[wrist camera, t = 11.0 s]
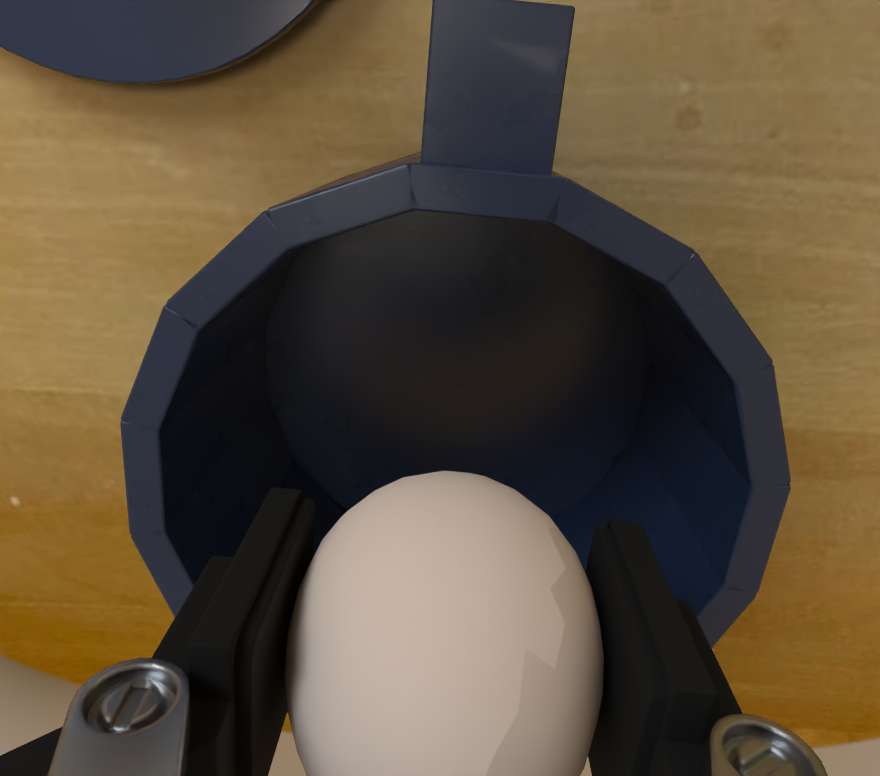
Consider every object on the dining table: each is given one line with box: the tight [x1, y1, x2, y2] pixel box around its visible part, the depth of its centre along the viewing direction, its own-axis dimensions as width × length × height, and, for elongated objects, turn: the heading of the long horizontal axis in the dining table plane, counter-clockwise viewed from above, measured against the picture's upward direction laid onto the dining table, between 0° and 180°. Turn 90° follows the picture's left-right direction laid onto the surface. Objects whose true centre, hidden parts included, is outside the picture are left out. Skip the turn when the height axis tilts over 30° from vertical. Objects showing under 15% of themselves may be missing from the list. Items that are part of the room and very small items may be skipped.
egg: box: [284, 471, 604, 776], centre depth 11 cm, size 5×5×7 cm
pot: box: [121, 0, 791, 713], centre depth 18 cm, size 14×19×8 cm
